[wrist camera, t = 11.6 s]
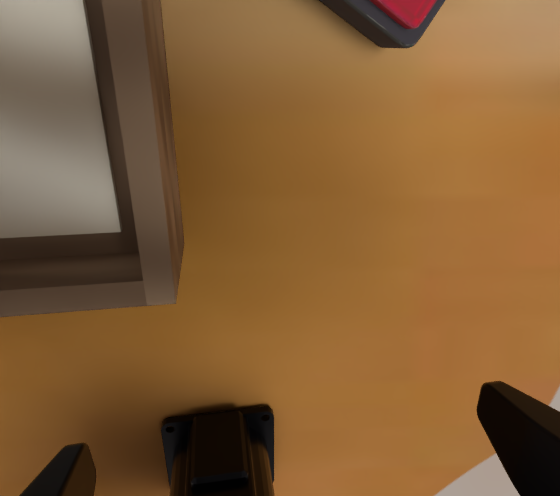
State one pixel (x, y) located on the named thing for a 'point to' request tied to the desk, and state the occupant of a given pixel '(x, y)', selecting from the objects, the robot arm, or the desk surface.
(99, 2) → the base
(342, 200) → the desk surface
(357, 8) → the calculator
